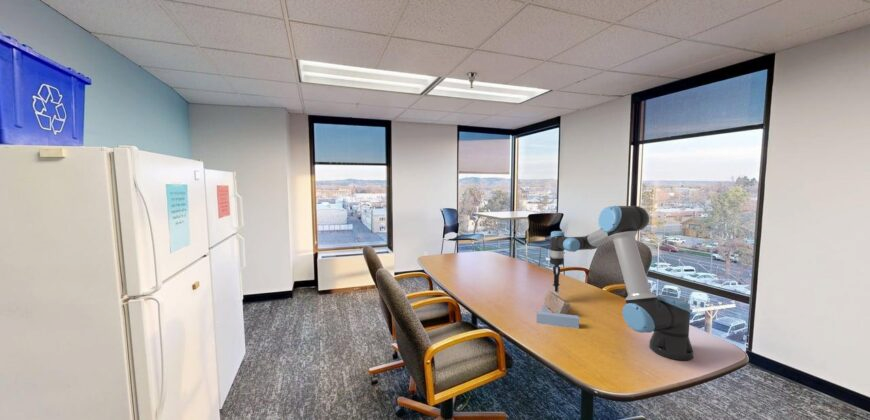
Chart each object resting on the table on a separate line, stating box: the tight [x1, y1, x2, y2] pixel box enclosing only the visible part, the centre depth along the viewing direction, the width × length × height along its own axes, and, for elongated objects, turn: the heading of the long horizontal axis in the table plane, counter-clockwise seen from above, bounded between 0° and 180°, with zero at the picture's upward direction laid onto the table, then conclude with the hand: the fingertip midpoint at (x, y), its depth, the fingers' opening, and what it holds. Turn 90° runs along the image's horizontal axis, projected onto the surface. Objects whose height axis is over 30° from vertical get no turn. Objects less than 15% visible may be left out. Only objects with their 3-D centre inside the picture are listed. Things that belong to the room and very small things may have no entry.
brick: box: [543, 290, 571, 315], centre depth 181 cm, size 17×8×5 cm
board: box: [536, 305, 580, 329], centre depth 169 cm, size 12×20×5 cm, turn 71°
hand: (555, 296), depth 194 cm, fingers closed
